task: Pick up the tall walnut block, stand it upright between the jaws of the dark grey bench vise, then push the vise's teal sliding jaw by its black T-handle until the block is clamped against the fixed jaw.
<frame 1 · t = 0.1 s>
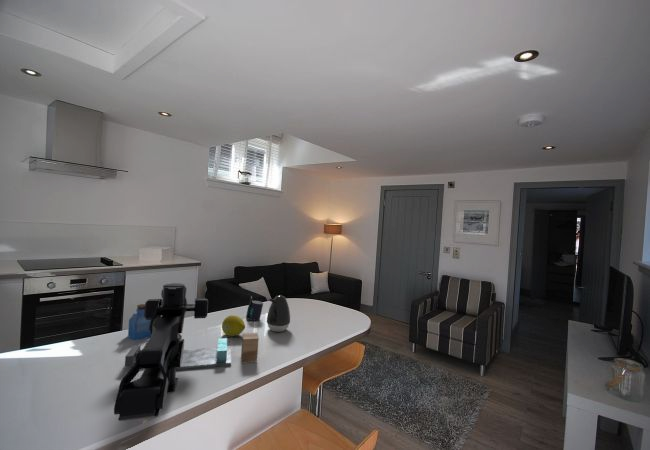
hand: (181, 301, 107), 17 cm above the counter, tool horizontal, fingers open, 9 cm apart
vise: (192, 360, 99), on the counter
vise jaw: (149, 354, 95), point 3 cm above the counter, slide at 0.0 cm
lemon: (232, 336, 121), on the counter
perfume bottle: (140, 336, 114), on the counter
speaker: (253, 319, 142), on the counter
pump dispenser: (277, 330, 131), on the counter
walnut block: (248, 358, 103), on the counter
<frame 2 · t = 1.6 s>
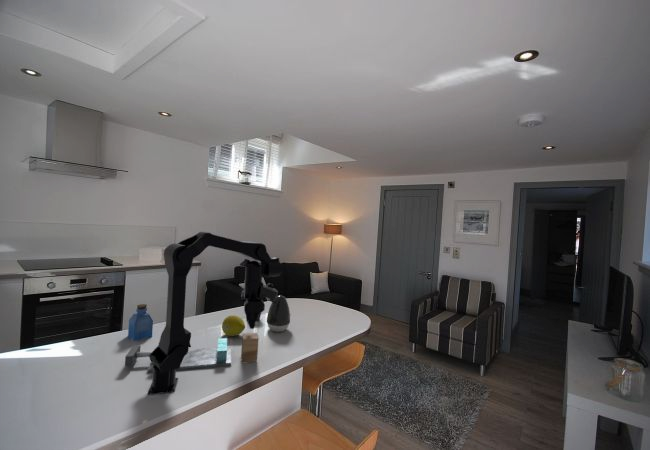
hand: (250, 323, 102), 12 cm above the counter, tool pointing down, fingers open, 9 cm apart
nothing on the counter moved.
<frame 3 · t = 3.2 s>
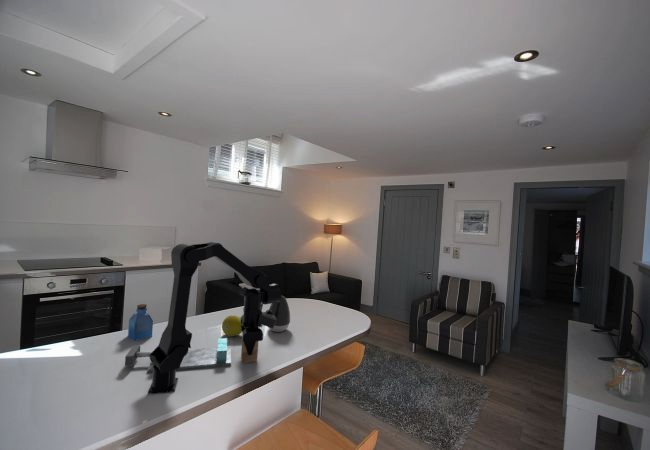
hand: (249, 351, 102), 3 cm above the counter, tool pointing down, fingers closed on walnut block, 5 cm apart
walnut block: (248, 358, 103), on the counter, touching gripper
everything else where it was.
when the fingers open (4 cm above the counter, at t = 7.9 s): walnut block stays where it is, resting on vise.
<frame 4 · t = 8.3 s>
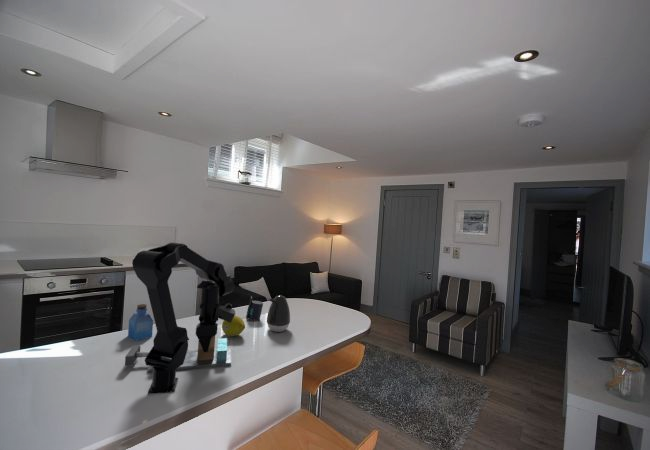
hand: (206, 345, 100), 4 cm above the counter, tool pointing down, fingers open, 9 cm apart
walnut block: (205, 356, 100), point 1 cm above the counter, touching vise
everything else where it was.
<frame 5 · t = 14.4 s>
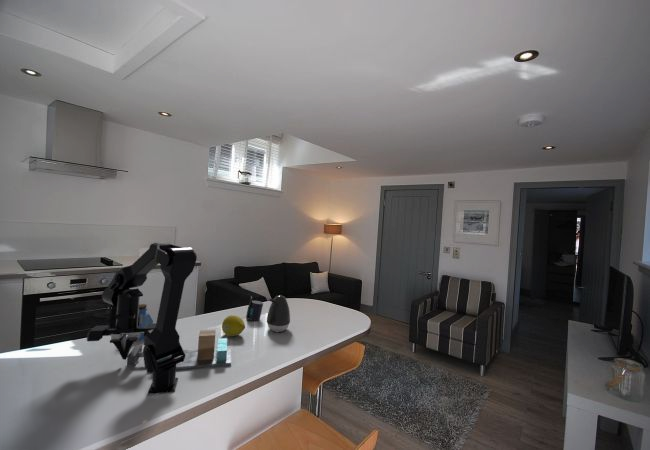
hand: (124, 359, 92), 2 cm above the counter, tool pointing down, fingers closed
vise jaw: (151, 353, 95), point 3 cm above the counter, slide at 0.5 cm, touching gripper
everything else where it was.
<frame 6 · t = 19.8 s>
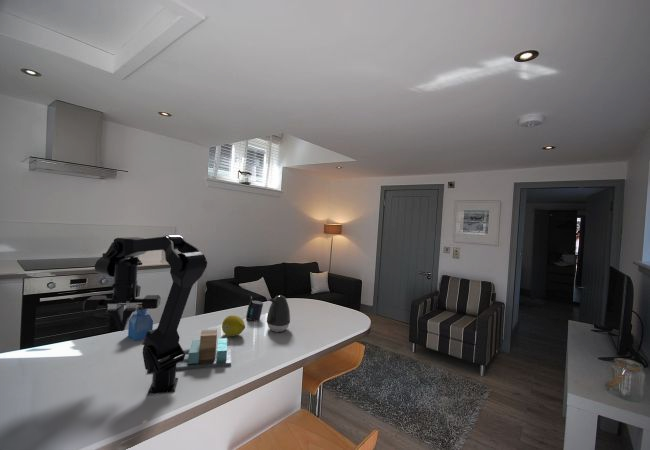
hand: (122, 330, 89), 12 cm above the counter, tool pointing down, fingers closed
vise jaw: (181, 351, 98), point 3 cm above the counter, slide at 9.5 cm, touching walnut block
walnut block: (207, 356, 100), point 1 cm above the counter, touching vise, vise jaw
everything else where it was.
at the end: walnut block 0.8 cm from the target spot on the vise, point 1.0 cm above the vise's base; walnut block tilted 0°; vise jaw slide at 9.5 cm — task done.
